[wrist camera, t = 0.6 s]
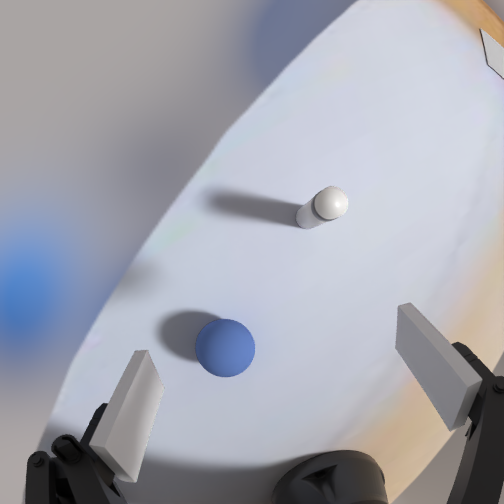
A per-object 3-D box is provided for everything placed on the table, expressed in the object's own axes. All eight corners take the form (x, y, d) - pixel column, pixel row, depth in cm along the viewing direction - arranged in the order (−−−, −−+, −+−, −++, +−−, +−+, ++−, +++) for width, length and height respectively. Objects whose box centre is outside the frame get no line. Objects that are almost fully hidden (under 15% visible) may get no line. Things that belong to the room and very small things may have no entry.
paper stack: (538, 145, 35) (540, 145, 34) (457, 72, 34) (460, 71, 33) (525, 71, 36) (526, 70, 35) (450, 8, 35) (451, 6, 34)
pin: (313, 233, 30) (342, 223, 22) (291, 223, 30) (313, 209, 22) (322, 211, 31) (352, 194, 22) (300, 201, 30) (324, 180, 22)
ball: (240, 373, 29) (241, 394, 24) (191, 353, 29) (182, 371, 24) (261, 327, 30) (267, 340, 24) (211, 305, 30) (206, 315, 24)
